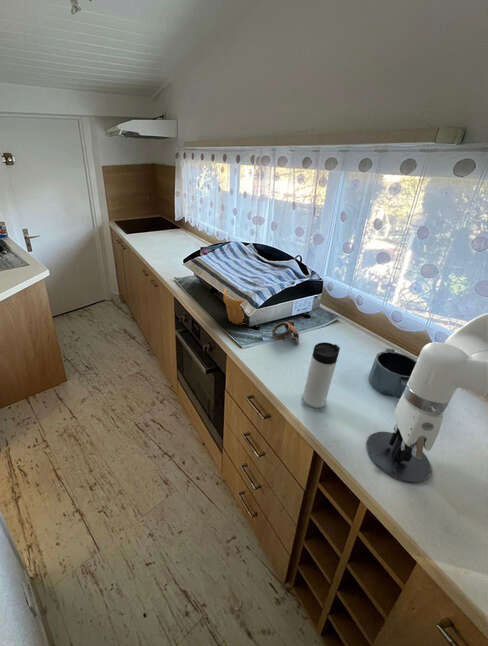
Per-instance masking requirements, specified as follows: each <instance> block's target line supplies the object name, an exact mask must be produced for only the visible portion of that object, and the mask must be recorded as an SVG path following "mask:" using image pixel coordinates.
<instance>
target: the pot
mask: <svg viewBox="0 0 488 646" xmlns="http://www.w3.org/2000/svg"><path fill="white" fill-rule="evenodd" d="M416 362H417V360H416V359H414V358H413V357H410V356H408V355H407V354H403V353H400V352H397V351H395V349H394V348H387V347H385V349H384V351H380V352H379V353H376V355H375V358H374V361H373V363H372V366H371V369H370V371H369V374H368V382H369V384H370V386H371V387H372V388H373V389H374V390H375V391H376V392H378V393H380V394H382V395H384V396H386V397H390V398H391V397H392V398H397V399H400V398H401V396H402V395H403V392H404V390H405V387H406V385H407V383H408V381H409V378H410V376H411V374H412V371H413V369H414V367H415V365H416Z"/></svg>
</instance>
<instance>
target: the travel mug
mask: <svg viewBox="0 0 488 646" xmlns="http://www.w3.org/2000/svg"><path fill="white" fill-rule="evenodd" d="M340 350H341V348H340V346H338V344H333V343H332V342H318V343H316V344H315V345H314V346H313V350H312V355H311V359H310V364H309V368H308V371H307V375H306V382H305V385H304V390H303V395H302V401H303V403H304V404H305V405H306V406H308V408H309V407H310V408H312V409H317V410H319V409H323V408H324V407H325V406H326V401H327V399H328V394H329V390H330V386H331V383H332V380H333V376H334V373H335V369H336V366H337V362H338V357H339V353H340Z"/></svg>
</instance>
